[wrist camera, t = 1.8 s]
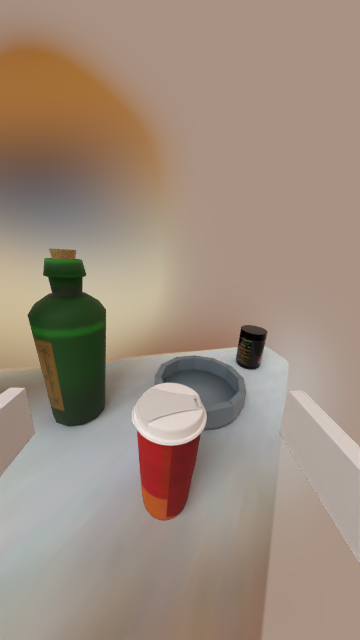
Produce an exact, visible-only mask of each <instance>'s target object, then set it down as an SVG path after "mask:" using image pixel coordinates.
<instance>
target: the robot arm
mask: <svg viewBox="0 0 360 640" xmlns="http://www.w3.org/2000/svg"><path fill="white" fill-rule="evenodd" d="M34 434H35V432H34V427H33V422H32V417H31V412H30V407H29V402H28V398H27V393H26V388H8V389H7V390H6V391H4V392H3V393H2V394H0V476H1V475H2V474H3V472H4V471H5V470H6V469H7V467H8V466H9V465H10V464H11V462H12V461H13V460H14V459H15V457H16V456H17V455H18V454H19V452H20V451H21V450H22V449H23V447H24V446H25V445H26V444H27V442H28V441H29V440H30V439H31V437H32V436H33V435H34ZM279 434H280V435H281V437H282V439H283V440H284V442H285V443H286V445H287V447H288V448H289V449H290V452H291V453H292V455H293V456H294V458H295V460H296V461H297V463H298V465H299V466H300V468H301V470H302V471H303V473H304V474H305V476H306V478H307V479H308V481H309V482H310V484H311V486H312V487H313V489H314V491H315V492H316V494H317V496H318V497H319V499H320V500H321V502H322V504H323V505H324V507H325V508H326V510H327V511H328V513H329V515H330V517H331V518H332V520H333V522H334V523H335V525H336V526H337V528H338V530H339V531H340V533H341V534H342V536H343V537H344V539H345V541H346V543H347V544H348V546H349V547H350V549H351V551H352V552H353V554H354V556H355V557H356V559H357V561H358V562H359V564H360V447H359V446H358V445H357V444H356V443H355V442H354V441H353V440H352V439H351V438H350V437H349V436H348V435H347V434H346V433H345V432H344V431H343V430H342V429H341V428H340V427H339V426H338V425H337V424H336V423H335V422H334V421H333V420H332V419H331V418H330V417H329V416H328V415H327V414H326V413H325V412H324V411H323V410H322V409H321V408H320V407H319V406H318V405H317V404H316V403H315V402H314V401H313V400H312V399H311V398H310V397H309V396H308V395H307V394H306V393H305V392H304V391H288V396H287V400H286V405H285V410H284V414H283V419H282V424H281V428H280V433H279Z"/></svg>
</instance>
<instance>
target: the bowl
mask: <svg viewBox="0 0 360 640" xmlns="http://www.w3.org/2000/svg"><path fill="white" fill-rule="evenodd" d="M162 383H178V384H182V385H185V386H187V387H189V388H191V389H193V390H194V391H195V392H196V393H197V394H198V395H199V397H200V399H201V402H202V404H203V406H204V408H205V410H206V415H207V421H206V425H205V427H204V429H203V430H213V429H219V428H222V427H225V426H227V425H229V424H230V423H232V422H233V421H234V420H235V419H236V418H237V417H238V415H239V413H240V411H241V408H242V407H243V405H244V400H245V395H246V390H245V384H244V378H243V377H242V376H241V375H240V374H239V373H238V372H237V371H236V370H234V369H233V368H232V367H231V366H229V365H227V364H225V363H223V362H220V361H218V360H216V359H214V358H207V357H201V356H185V357H176V358H174V359H172V360H170V361H168V362H166V363H164V364H162V365H161V366H160V368H159V370H158V372H157V374H156V375H155V385H157V384H162Z"/></svg>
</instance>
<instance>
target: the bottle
mask: <svg viewBox="0 0 360 640" xmlns="http://www.w3.org/2000/svg"><path fill="white" fill-rule="evenodd" d="M49 250H50V253H51V256H52V258H45V260H44V272H43V275H44V276H47V277H48V278H49V282H50V286H51V290H52V293H51V294H48V295H47V296H45V297H44V298H42V299H41V300H39V301H38V302H36V303H35V304H34V306H33V307H32V309H31V310H30V312H29V314H28V318H29V322H30V326H31V330H32V333H33V338H34V341H35V345H36V349H37V353H38V357H39V361H40V365H41V369H42V373H43V377H44V380H45V384H46V388H47V392H48V396H49V400H50V404H51V408H52V412H53V415H54V417H55V420H56V422H57V423H60V424H63V425H66V426H73V425H81V424H84V423H86V422H88V421H90V420H92V419H94V418H96V417H97V416H98V415H99V414H100V412H101V411H102V410H103V409H104V404H105V356H106V354H105V353H106V349H105V348H106V309H105V308H104V307H103V305H102V304H101V303H100V302H99V301H98V300H97V299H95V298H93V297H92V296H90V295H88V294H86V293H84V292H82V277H84V276H86V272H85V269H84V266H83V262H82V260H80V259H75V255H76V250H66V249H65V250H64V249H49Z"/></svg>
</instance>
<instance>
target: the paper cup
mask: <svg viewBox="0 0 360 640" xmlns="http://www.w3.org/2000/svg"><path fill="white" fill-rule="evenodd" d="M206 421H207V415H206V410H205V408H204V406H203V404H202V402H201V399H200V397H199V395H198V394H197V393H196V392H195V391H194V390H193V389H191V388H189V387H187V386H185V385H182V384H178V383H162V384H157V385H155V386H152V387H150V388H149V389H148V390H147V391H145V392H144V393H143V395H142V396H141V397H140V399H139V400H138V401H137V403H136V406H135V407H134V408H133V411H132V423H133V424H134V426H135V427H136V429H137V435H138V448H139V462H140V474H141V486H142V496H143V502H144V505H145V507H146V509H147V511H148V512H149V513H150V515H152V516H153V517H154V518H156V519H159V520H170V519H172V518H174V517H176V516H177V515H178V514H179V513H180V512H181V511H182V510H183V508H184V506H185V503H186V500H187V497H188V492H189V488H190V483H191V479H192V474H193V470H194V466H195V462H196V456H197V450H198V445H199V440H200V435H201V432H202V431H203V429H204V427H205V425H206Z"/></svg>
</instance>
